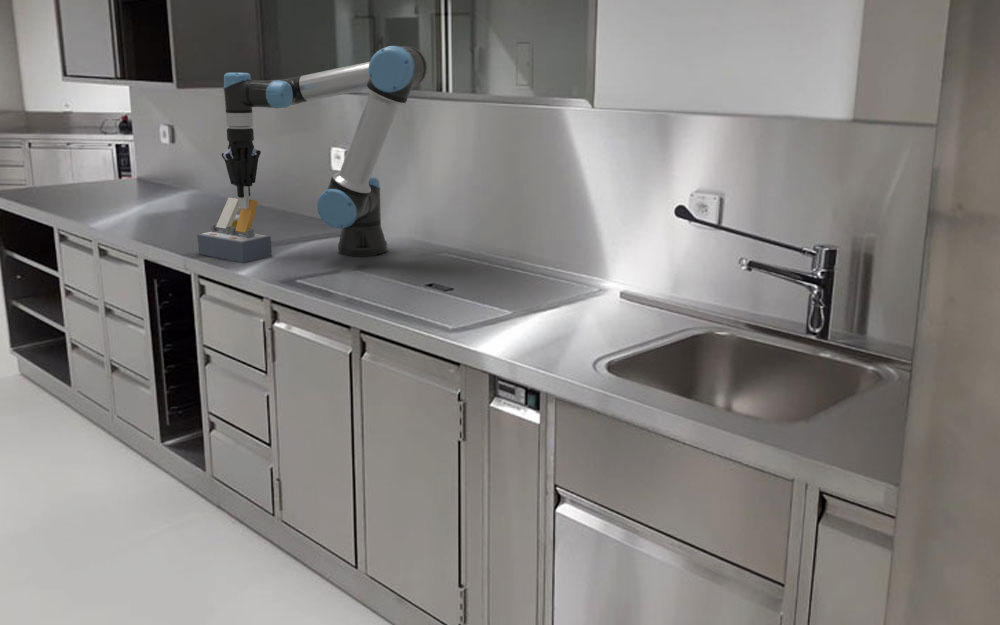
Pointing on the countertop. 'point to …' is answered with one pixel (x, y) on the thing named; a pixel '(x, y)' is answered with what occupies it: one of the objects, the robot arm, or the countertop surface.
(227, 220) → the ivory lever
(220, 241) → the breaker panel
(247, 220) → the orange lever
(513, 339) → the countertop surface
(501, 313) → the countertop surface
